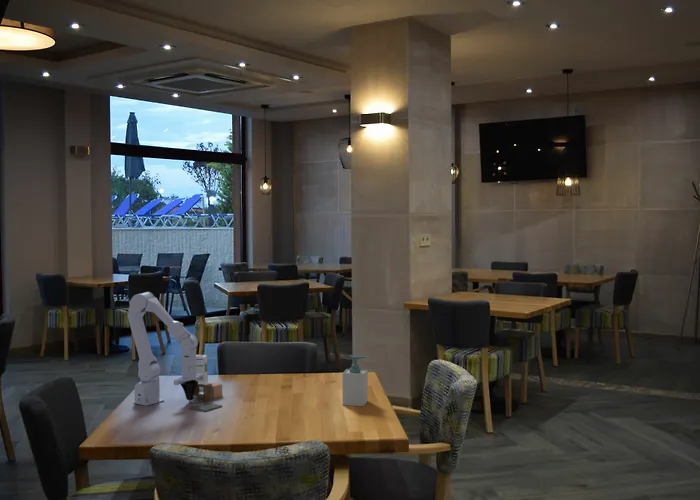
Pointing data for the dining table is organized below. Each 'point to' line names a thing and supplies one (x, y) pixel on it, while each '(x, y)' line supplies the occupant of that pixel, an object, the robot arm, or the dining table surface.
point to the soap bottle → (355, 384)
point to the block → (216, 390)
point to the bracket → (205, 390)
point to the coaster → (205, 406)
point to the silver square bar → (197, 398)
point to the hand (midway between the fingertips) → (189, 399)
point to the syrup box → (201, 368)
